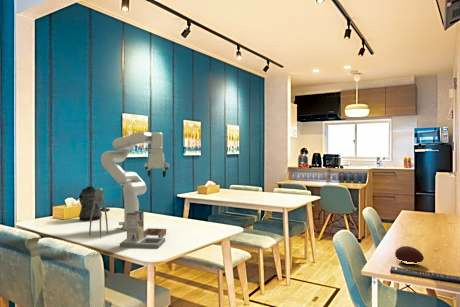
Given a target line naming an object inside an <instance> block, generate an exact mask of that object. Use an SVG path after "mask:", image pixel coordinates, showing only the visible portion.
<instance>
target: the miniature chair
mask: <svg viewBox="0 0 460 307" xmlns="http://www.w3.org/2000/svg"><path fill="white" fill-rule="evenodd" d="M95 190H96V191H95V197H96V200H94V203H93V207H92V212H91V218H90V221H89V234H88V236H91V232H92V222H93V221H92V216H93V211H94V207H95V203H97V204H98V207H99V209H100V220H99V238H100V239H101V238H102V216H101V213H102V210H101V209H102V208H101V207H102V206H101V205H103V209H104V216H105V226H106V227H105V229H106V230H105V231H106V234H109V226H108V225H109V224H108V214H107V213H108V212H107V208H106V202H105V199H104V189H103V187H97V188H96V189H95Z"/></svg>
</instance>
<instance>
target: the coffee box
mask: <svg viewBox="0 0 460 307" xmlns="http://www.w3.org/2000/svg"><path fill="white" fill-rule="evenodd" d="M144 215H145V212H144V210H139V211H132V212H130V213H127V230H126V239H127V242H138V241H139V240H141V239H143V238H144V231H145V230H144V220H145V218H144Z"/></svg>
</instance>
